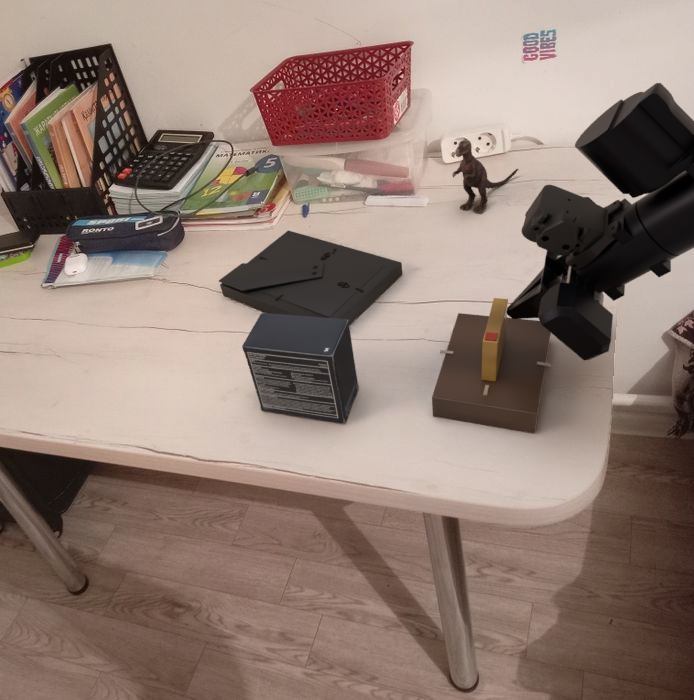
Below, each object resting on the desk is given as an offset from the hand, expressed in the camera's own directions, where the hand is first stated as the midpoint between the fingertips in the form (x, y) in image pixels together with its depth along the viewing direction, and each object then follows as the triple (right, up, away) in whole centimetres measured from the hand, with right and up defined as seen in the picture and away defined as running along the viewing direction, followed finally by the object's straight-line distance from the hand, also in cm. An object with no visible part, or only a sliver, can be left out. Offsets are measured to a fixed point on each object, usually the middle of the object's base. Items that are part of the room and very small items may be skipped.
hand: (509, 313), depth 65 cm
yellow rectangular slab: (-1, -5, +2) cm, 5 cm away
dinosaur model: (+11, +20, +31) cm, 38 cm away
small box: (-20, -10, +9) cm, 24 cm away
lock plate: (0, -7, +4) cm, 8 cm away
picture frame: (-17, +5, +25) cm, 31 cm away
